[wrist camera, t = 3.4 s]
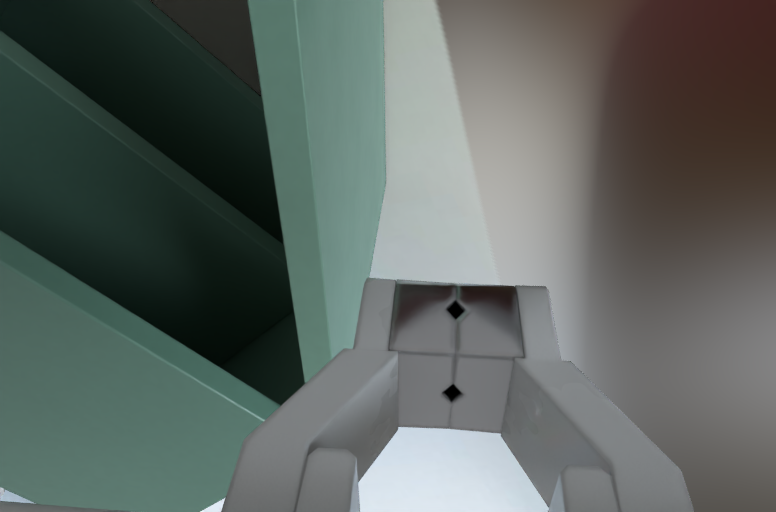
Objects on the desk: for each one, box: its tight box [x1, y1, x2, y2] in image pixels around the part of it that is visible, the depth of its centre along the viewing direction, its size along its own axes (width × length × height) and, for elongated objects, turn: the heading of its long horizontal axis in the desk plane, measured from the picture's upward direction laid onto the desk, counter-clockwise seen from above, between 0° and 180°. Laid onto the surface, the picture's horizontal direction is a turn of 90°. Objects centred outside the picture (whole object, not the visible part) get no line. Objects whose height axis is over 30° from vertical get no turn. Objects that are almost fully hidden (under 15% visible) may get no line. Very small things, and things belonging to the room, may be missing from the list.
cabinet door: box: [247, 0, 386, 383], centre depth 22 cm, size 5×20×17 cm, turn 1°
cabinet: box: [0, 0, 305, 512], centre depth 28 cm, size 13×20×17 cm, turn 46°
